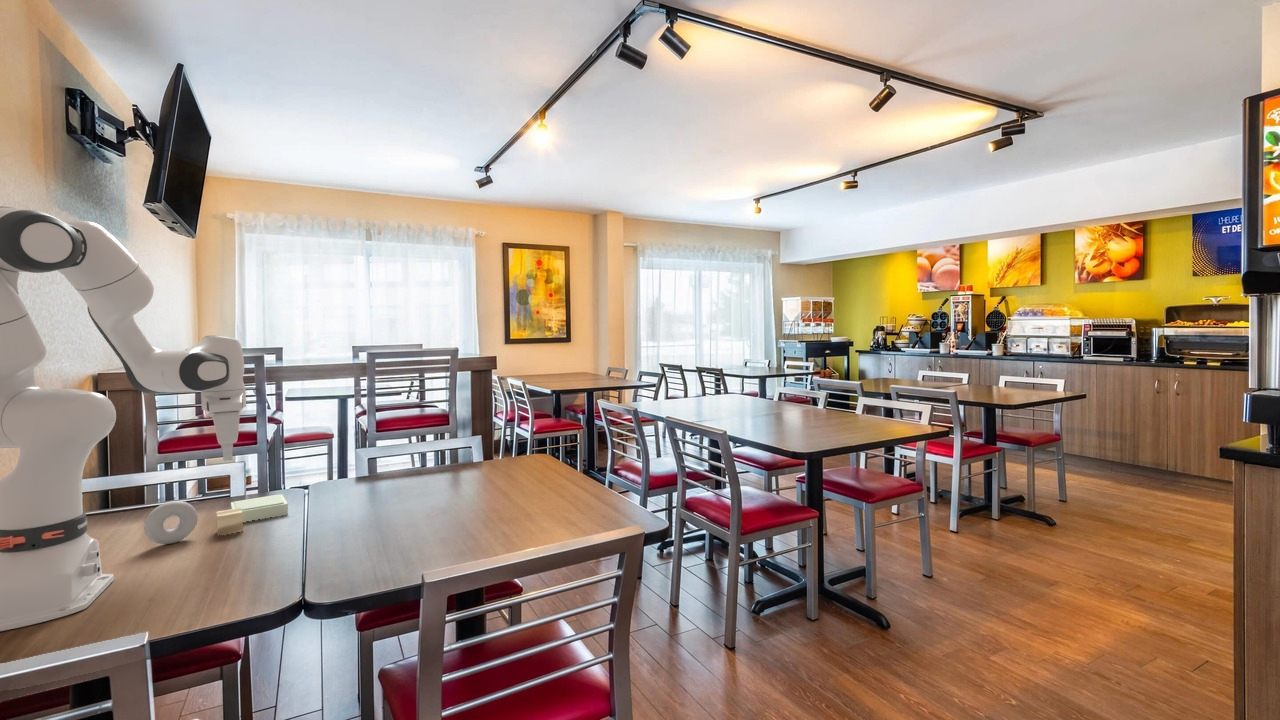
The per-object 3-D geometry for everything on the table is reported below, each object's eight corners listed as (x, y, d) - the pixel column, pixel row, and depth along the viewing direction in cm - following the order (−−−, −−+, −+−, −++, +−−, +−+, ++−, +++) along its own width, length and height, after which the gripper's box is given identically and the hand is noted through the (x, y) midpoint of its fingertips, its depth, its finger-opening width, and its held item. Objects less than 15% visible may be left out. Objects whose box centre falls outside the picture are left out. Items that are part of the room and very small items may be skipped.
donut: (148, 551, 127) (145, 508, 126) (142, 548, 129) (140, 505, 128) (201, 538, 135) (199, 497, 135) (195, 535, 137) (193, 495, 136)
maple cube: (243, 532, 139) (242, 512, 139) (218, 536, 136) (217, 516, 136) (241, 526, 143) (240, 507, 143) (217, 531, 140) (216, 511, 140)
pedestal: (288, 514, 152) (287, 502, 152) (233, 524, 145) (233, 511, 145) (282, 504, 162) (282, 493, 161) (231, 513, 154) (230, 501, 154)
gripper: (207, 398, 144) (209, 452, 145) (209, 406, 128) (212, 466, 129) (237, 396, 148) (239, 448, 149) (242, 403, 132) (245, 461, 133)
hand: (226, 456), depth 139 cm, fingers open, 8 cm apart
